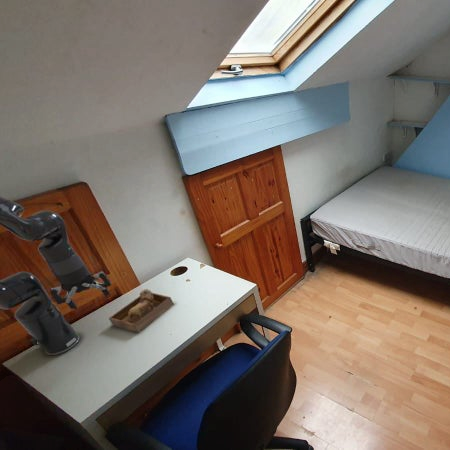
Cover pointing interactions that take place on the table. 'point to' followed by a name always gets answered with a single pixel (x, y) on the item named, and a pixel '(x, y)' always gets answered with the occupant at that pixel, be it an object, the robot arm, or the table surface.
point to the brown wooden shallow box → (147, 316)
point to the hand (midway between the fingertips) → (91, 302)
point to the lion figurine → (141, 305)
